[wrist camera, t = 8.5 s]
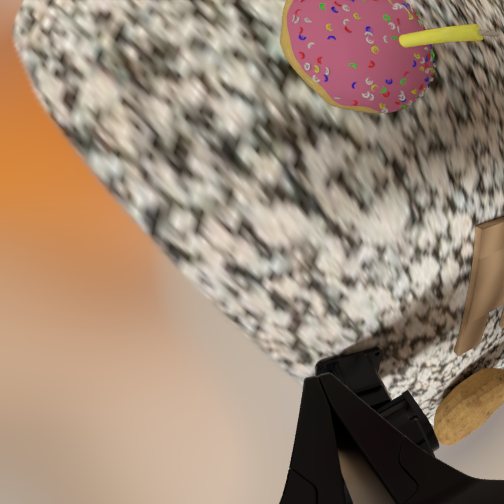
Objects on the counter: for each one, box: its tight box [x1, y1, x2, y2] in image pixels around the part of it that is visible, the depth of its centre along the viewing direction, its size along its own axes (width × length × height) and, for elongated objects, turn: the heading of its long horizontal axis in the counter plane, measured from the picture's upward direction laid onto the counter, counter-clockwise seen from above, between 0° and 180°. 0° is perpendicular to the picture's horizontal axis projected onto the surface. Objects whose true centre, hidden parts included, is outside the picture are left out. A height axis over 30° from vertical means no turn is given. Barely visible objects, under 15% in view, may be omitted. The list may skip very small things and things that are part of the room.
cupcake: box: [280, 0, 499, 113], centre depth 9 cm, size 9×8×12 cm
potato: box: [434, 368, 504, 445], centre depth 26 cm, size 10×14×8 cm
